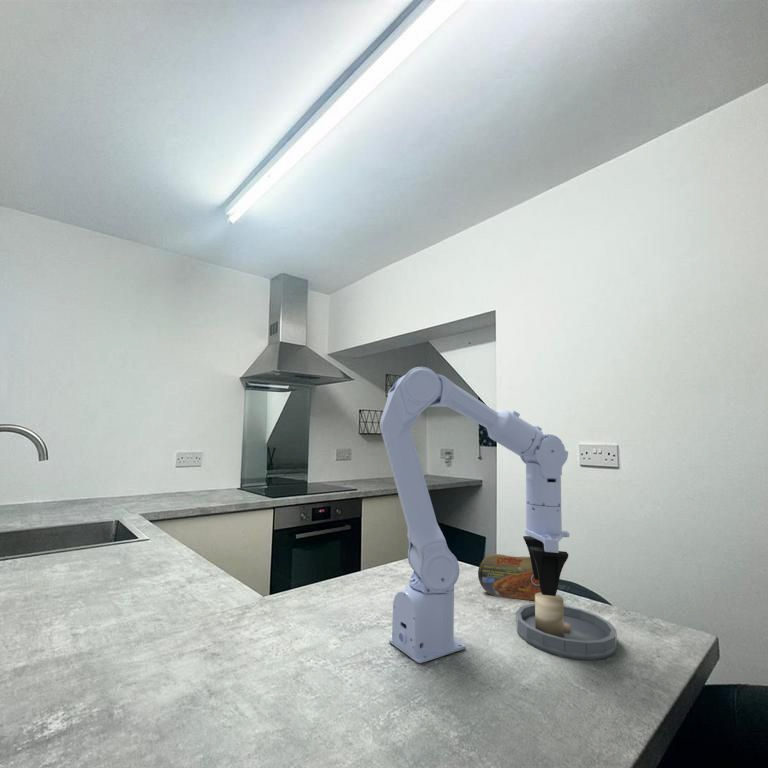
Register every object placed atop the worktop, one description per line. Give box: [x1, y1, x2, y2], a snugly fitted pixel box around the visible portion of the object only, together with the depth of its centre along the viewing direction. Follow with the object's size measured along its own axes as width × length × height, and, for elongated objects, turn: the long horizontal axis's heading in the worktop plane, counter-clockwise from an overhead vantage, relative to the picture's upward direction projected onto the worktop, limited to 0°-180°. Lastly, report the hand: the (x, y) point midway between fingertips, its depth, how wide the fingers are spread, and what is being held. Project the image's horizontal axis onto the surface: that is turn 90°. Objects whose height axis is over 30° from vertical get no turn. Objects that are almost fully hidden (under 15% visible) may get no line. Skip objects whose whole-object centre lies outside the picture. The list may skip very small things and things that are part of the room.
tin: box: [477, 553, 541, 602], centre depth 90 cm, size 15×3×8 cm, turn 75°
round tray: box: [515, 603, 618, 661], centre depth 71 cm, size 16×16×2 cm
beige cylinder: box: [534, 592, 564, 638], centre depth 70 cm, size 4×4×6 cm
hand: (544, 586), depth 71 cm, fingers open, 7 cm apart
